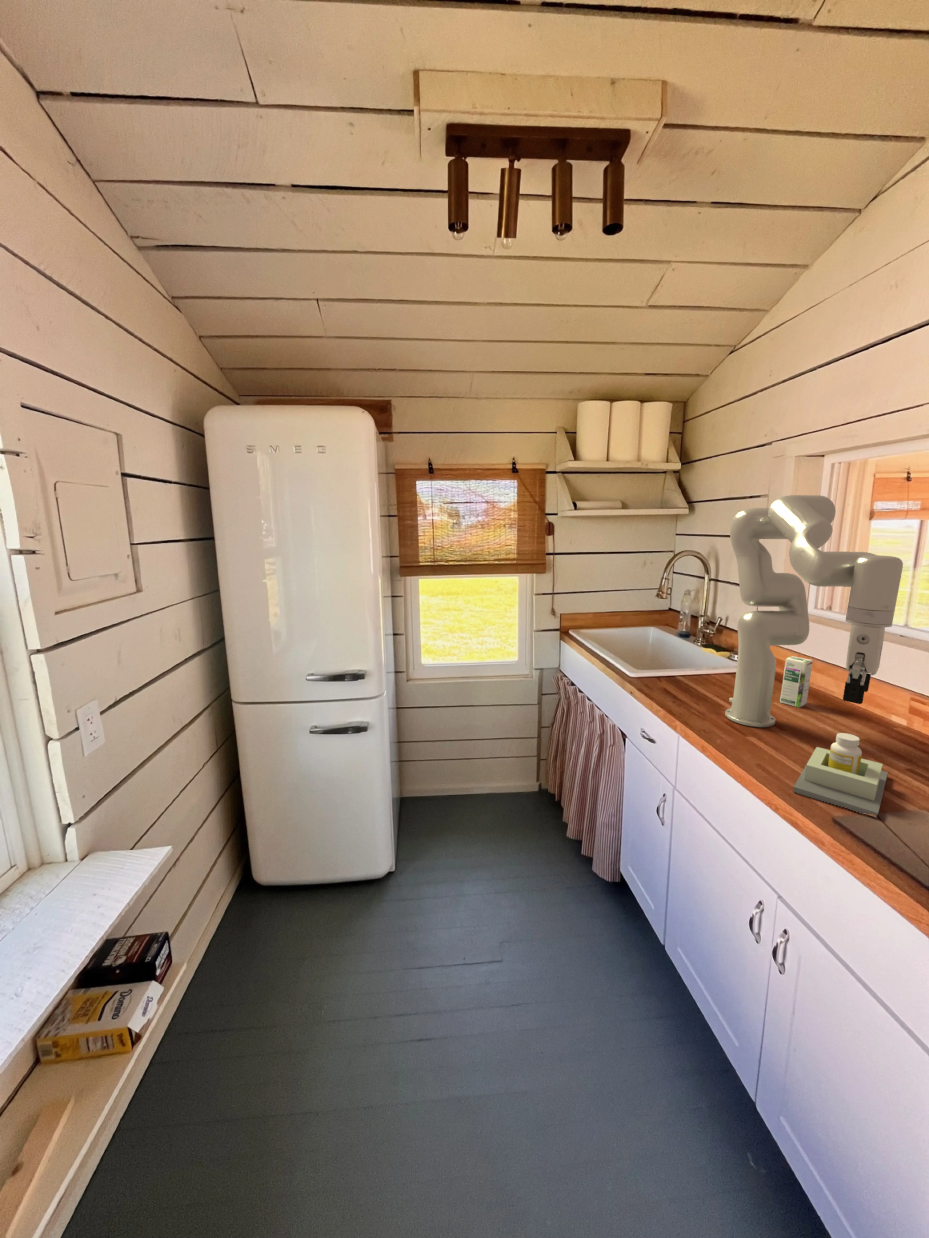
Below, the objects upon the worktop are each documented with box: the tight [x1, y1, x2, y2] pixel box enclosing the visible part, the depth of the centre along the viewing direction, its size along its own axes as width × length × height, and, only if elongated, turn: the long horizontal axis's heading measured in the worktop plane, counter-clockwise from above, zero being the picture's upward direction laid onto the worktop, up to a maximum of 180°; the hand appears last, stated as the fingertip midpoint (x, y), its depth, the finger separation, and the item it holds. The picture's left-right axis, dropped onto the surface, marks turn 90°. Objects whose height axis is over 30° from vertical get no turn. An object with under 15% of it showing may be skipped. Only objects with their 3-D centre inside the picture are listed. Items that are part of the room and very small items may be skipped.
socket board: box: [792, 746, 889, 816], centre depth 110 cm, size 22×14×5 cm, turn 137°
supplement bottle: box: [828, 732, 863, 775], centre depth 110 cm, size 5×5×10 cm
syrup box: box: [779, 655, 814, 709], centre depth 157 cm, size 6×6×14 cm
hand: (855, 695), depth 107 cm, fingers open, 9 cm apart
